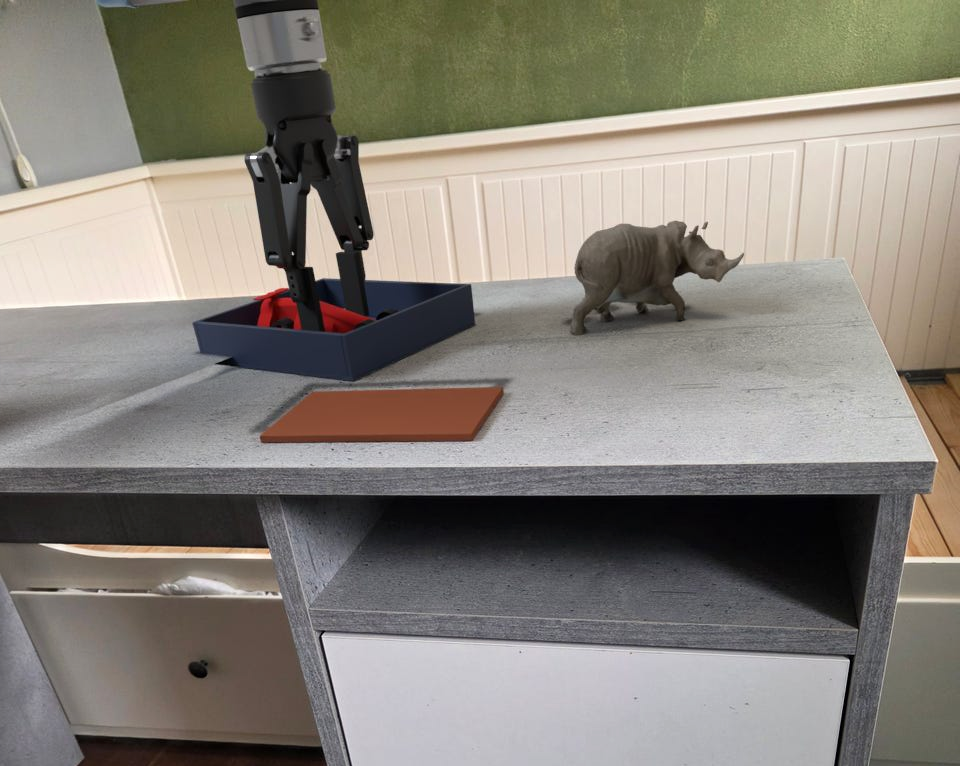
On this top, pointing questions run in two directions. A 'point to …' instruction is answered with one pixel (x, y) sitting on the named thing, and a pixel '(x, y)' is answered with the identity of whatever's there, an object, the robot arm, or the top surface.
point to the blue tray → (337, 355)
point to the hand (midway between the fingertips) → (336, 323)
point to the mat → (386, 415)
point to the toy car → (334, 318)
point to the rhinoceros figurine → (642, 268)
